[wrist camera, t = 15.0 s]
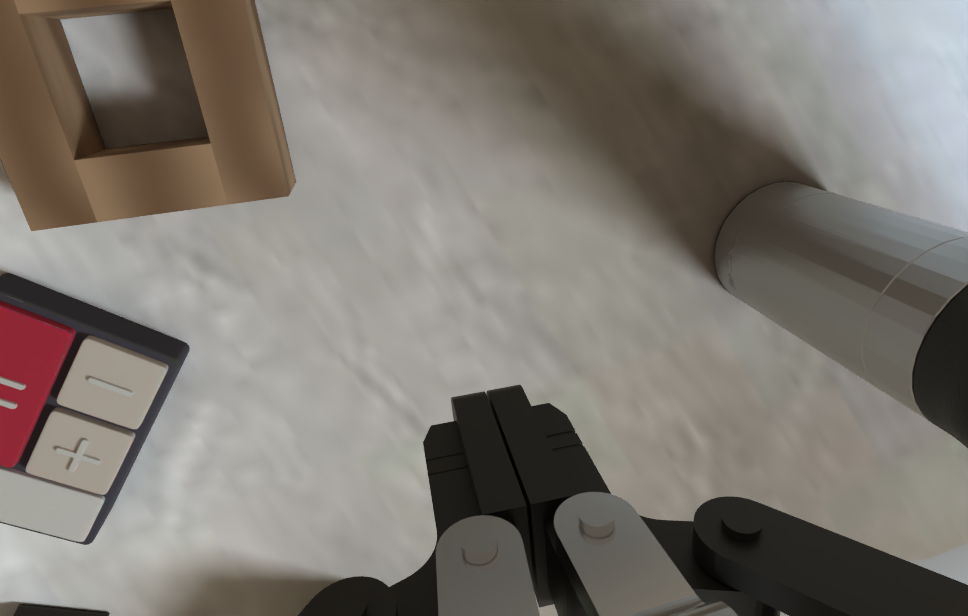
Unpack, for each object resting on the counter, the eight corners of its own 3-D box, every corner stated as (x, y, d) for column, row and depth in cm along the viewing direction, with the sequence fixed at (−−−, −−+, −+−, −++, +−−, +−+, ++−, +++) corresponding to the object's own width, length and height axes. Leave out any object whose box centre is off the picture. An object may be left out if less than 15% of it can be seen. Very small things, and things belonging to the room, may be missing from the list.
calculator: (178, 366, 35) (85, 556, 38) (195, 339, 39) (109, 512, 42) (-30, 287, 32) (-116, 504, 35) (12, 265, 36) (-69, 461, 38)
